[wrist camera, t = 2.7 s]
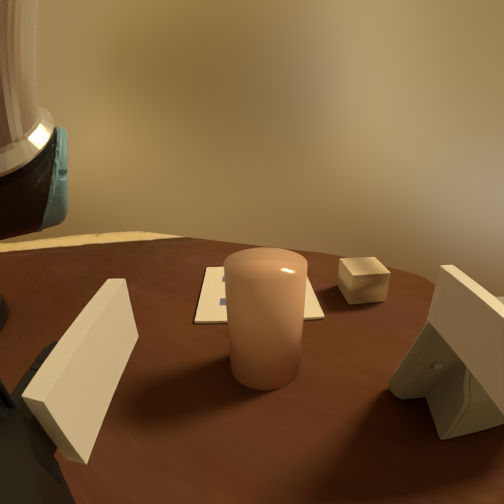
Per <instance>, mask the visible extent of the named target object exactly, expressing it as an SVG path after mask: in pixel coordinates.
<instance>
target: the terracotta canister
mask: <svg viewBox="0 0 504 504" xmlns="http://www.w3.org/2000/svg"><path fill="white" fill-rule="evenodd" d="M224 278H225V294H226V310H227V325H228V339H229V352H230V365H231V372H232V375H233V377H234V378H235V379H236V380H237V381H238V382H239V383H240V384H242V385H244V386H246V387H248V388H251V389H256V390H274V389H278V388H281V387H284V386H286V385H287V384H289V383H290V382H292V381H293V380H294V379H295V377H296V376H297V374H298V371H299V362H300V352H301V342H302V331H303V319H304V307H305V294H306V279H307V261H306V259H305V258H304V257H302V256H301V255H299V254H297V253H295V252H292V251H289V250H285V249H279V248H252V249H246V250H242V251H239V252H236V253H234V254H232V255H230V256H229V257H227V258H226V259H225V261H224Z"/></svg>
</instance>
